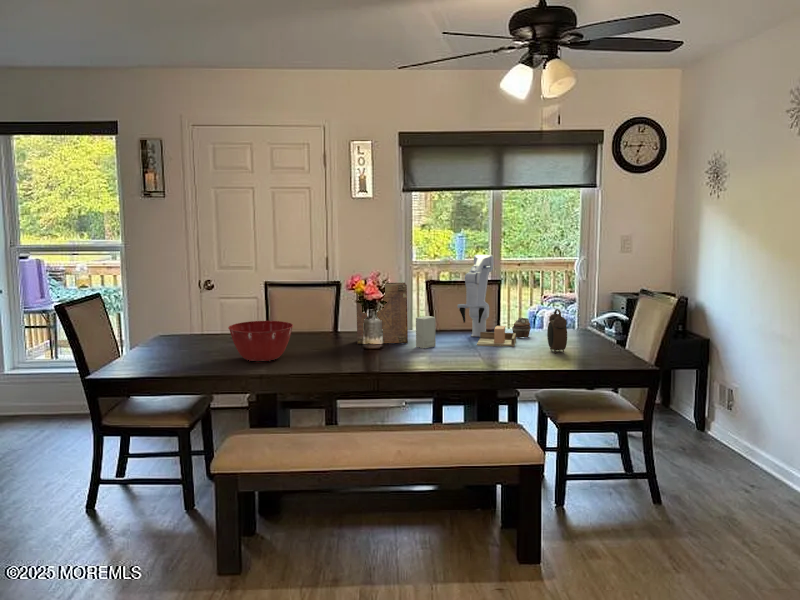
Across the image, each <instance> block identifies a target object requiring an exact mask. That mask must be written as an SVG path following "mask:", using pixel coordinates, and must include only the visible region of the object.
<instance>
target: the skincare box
mask: <svg viewBox="0 0 800 600" xmlns="http://www.w3.org/2000/svg"><path fill="white" fill-rule="evenodd" d="M436 341H437V340H436V317H435V316H430V315H425V316H420V317H419V316H418V317H415V346H416V347H417V348H419V347H420V348H419V349H423V348H425V349H427V348H429V349H430V348H433V347H436V344H437V343H436Z"/></svg>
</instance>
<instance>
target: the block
mask: <svg viewBox="0 0 800 600" xmlns="http://www.w3.org/2000/svg"><path fill="white" fill-rule="evenodd" d="M493 332H494V343H504V341H505V333H506V326H505V325H496V326H495V327H494V331H493Z"/></svg>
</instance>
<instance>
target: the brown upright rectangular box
mask: <svg viewBox="0 0 800 600" xmlns="http://www.w3.org/2000/svg"><path fill="white" fill-rule="evenodd" d="M385 283H386V284H385V285H384V287H385V296H384V298H383V300H384V301H386V302H387V304H385V305H384V308H382V310H380V311H378V312H377V317H378V318H379V319H380V320H382V329H383V340H384V343H407V344H408V343H409V341H408V340H409V337H408V332H409V331H408V288H407V287H408V285H407V284H406V282H385ZM355 293H356V292H355ZM355 296H356V297H355V300H356V343H357V345H358V344H361V343H362V339H363V323H364V319H365V318H366V317H367V313H362V306H361V304H359V303H357V301H358V299H359V296H358V294H357V293H356V294H355Z"/></svg>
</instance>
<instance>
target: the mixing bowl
mask: <svg viewBox="0 0 800 600" xmlns="http://www.w3.org/2000/svg"><path fill="white" fill-rule="evenodd" d="M293 327H294V324H293V323H291V322H287V321H279V320H255V321H253V320H252V321H245V322H238V323H235V324H231V325H229V326H228V330H229V332H230V336H231V339H232V341H233V344H234V346H235V348H236V350H237V352H238V354H239V355H240V356H241V357H242V358H243V359H244V360H246V361H248V360H249V361H248V362H250V361H269V360H274V359H276V360H277V359H279V358H280V357H281V356H282V355H283V354H284V352H285V351H286V348H287V346H288V343H289V342H290V338H291V335H292V332H293ZM274 361H275V360H274ZM269 362H270V361H269Z"/></svg>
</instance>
